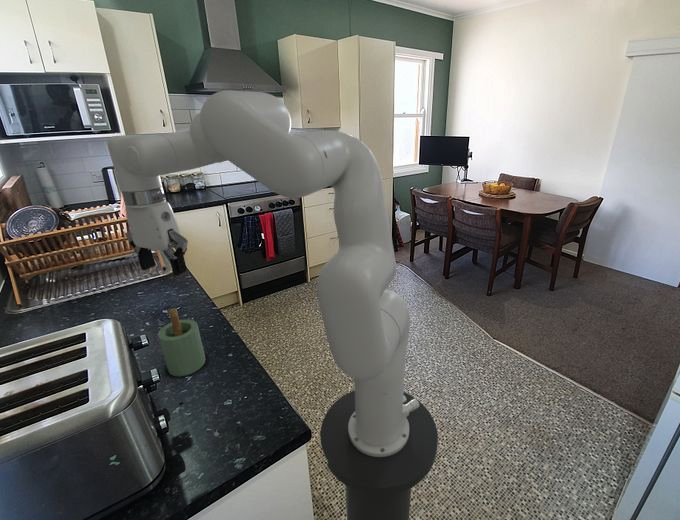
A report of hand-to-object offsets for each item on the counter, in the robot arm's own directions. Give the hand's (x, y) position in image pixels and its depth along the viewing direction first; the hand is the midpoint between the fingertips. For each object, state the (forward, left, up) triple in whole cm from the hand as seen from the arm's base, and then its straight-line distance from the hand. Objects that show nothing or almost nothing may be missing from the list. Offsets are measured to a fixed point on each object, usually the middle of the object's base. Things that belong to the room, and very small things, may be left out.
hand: (164, 270), depth 79 cm
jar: (0, -1, -28) cm, 28 cm away
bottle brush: (+1, -1, -27) cm, 27 cm away
